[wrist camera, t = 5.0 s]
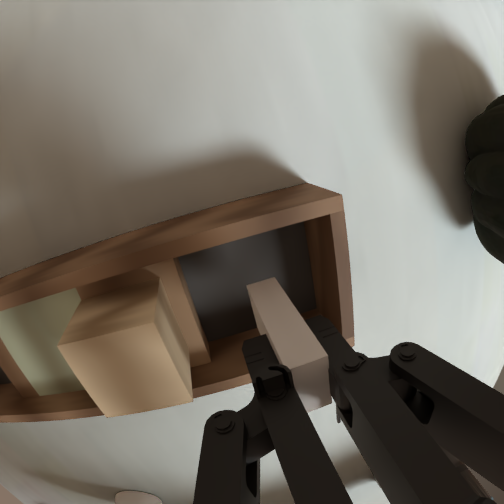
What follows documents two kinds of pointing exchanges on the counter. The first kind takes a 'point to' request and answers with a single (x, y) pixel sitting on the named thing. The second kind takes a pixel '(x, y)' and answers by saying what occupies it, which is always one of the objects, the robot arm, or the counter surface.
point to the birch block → (129, 350)
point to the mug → (136, 498)
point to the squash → (488, 176)
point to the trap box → (178, 292)
